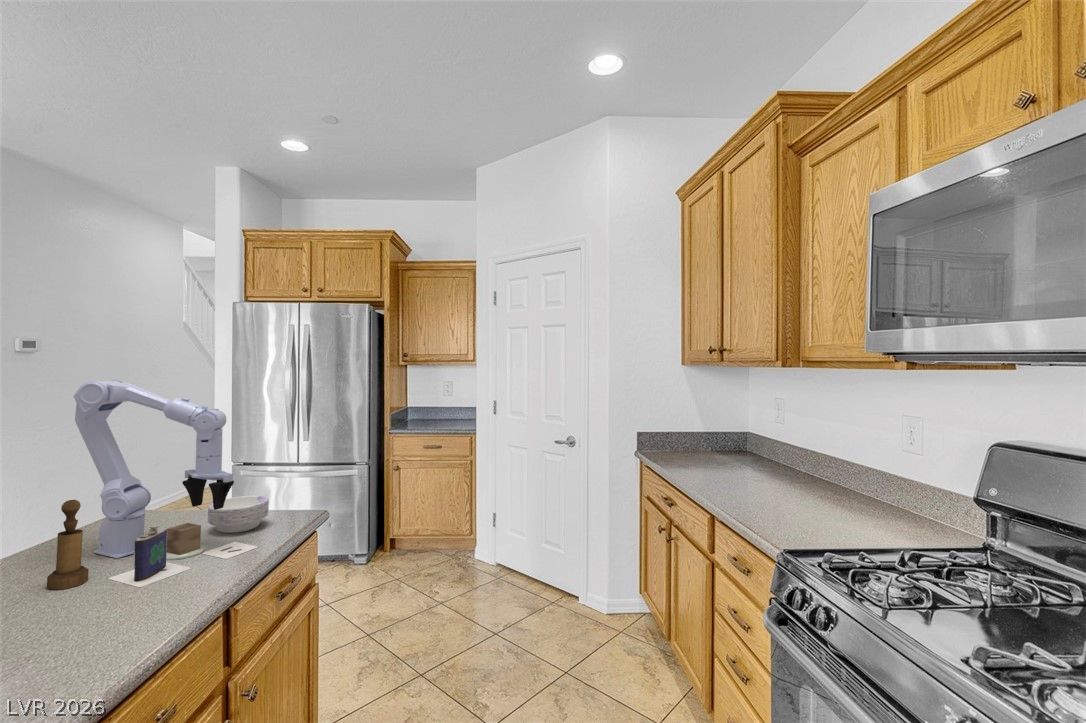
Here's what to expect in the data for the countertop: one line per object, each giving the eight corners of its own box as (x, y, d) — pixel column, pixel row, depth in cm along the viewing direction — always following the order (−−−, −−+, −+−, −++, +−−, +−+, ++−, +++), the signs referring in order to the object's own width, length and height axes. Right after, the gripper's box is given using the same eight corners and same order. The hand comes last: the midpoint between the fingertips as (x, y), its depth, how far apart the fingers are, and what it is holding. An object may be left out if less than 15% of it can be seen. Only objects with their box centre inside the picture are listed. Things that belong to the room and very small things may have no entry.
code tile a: (107, 578, 108) (107, 578, 108) (161, 561, 119) (161, 560, 119) (139, 587, 104) (139, 587, 104) (192, 568, 115) (192, 567, 115)
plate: (152, 556, 121) (152, 554, 121) (189, 544, 130) (189, 542, 130) (176, 562, 118) (176, 559, 118) (212, 549, 127) (212, 547, 127)
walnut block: (166, 552, 122) (167, 528, 123) (186, 545, 127) (187, 522, 127) (180, 555, 121) (180, 531, 121) (200, 548, 126) (201, 525, 126)
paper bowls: (204, 526, 144) (205, 499, 145) (262, 517, 154) (263, 492, 154) (210, 541, 133) (211, 511, 133) (272, 530, 142) (273, 503, 143)
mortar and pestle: (95, 580, 108) (98, 498, 108) (58, 592, 101) (61, 506, 102) (76, 575, 110) (79, 495, 110) (39, 587, 104) (42, 502, 104)
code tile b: (201, 553, 124) (201, 553, 124) (234, 542, 132) (234, 541, 132) (226, 559, 121) (226, 558, 121) (258, 547, 129) (258, 546, 129)
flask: (157, 565, 116) (159, 519, 116) (170, 564, 116) (172, 519, 116) (130, 582, 107) (132, 533, 107) (144, 581, 107) (146, 532, 107)
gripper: (173, 456, 127) (172, 508, 127) (215, 460, 122) (213, 514, 122) (199, 451, 134) (198, 501, 133) (240, 455, 129) (239, 506, 129)
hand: (207, 507), depth 128 cm, fingers open, 7 cm apart
